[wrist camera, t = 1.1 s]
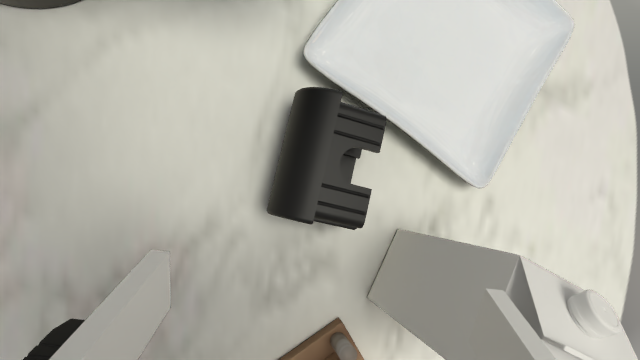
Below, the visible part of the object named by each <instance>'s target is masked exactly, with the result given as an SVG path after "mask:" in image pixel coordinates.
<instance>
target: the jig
mask: <svg viewBox="0 0 640 360" xmlns="http://www.w3.org/2000/svg"><path fill="white" fill-rule="evenodd" d="M279 360H364V359H363V357H362V355H361V354H360V352H359V350H358V348H357V347H356V345H355V343H354V342H353V340H352V338H351V336H350V335H349V333H348V331H347V330H346V328H345V326H344V324H343V323H342V321H341V320H340V319H339V318H337V319H335V320H334V321H333V322H331V323H330V324H328V325H327V326H326V327H324V328H323V329H321V330H320V331H318V332H317V333H316V334H314V335H313V336H311V337H310V338H308V339H307V340H306V341H304V342H303V343H301V344H300V345H299V346H297V347H296V348H294V349H293V350H291V351H290V352H289V353H287V354H286V355H284V356H283V357H282V358H280V359H279Z"/></svg>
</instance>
